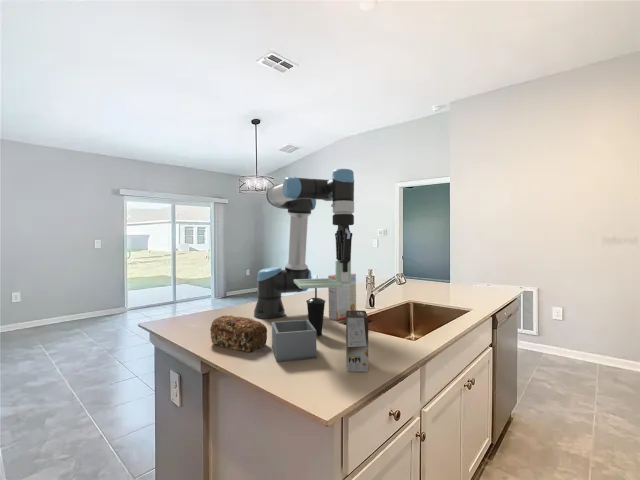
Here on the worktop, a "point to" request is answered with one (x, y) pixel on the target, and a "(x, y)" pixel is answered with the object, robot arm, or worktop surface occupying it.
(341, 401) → the worktop surface
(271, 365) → the worktop surface
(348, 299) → the cracker box
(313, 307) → the drinking cup
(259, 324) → the bread
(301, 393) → the worktop surface
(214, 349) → the worktop surface
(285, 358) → the tub
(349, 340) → the coffee box
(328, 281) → the lid
